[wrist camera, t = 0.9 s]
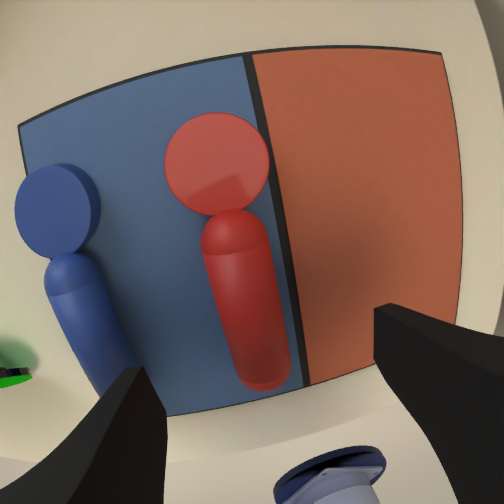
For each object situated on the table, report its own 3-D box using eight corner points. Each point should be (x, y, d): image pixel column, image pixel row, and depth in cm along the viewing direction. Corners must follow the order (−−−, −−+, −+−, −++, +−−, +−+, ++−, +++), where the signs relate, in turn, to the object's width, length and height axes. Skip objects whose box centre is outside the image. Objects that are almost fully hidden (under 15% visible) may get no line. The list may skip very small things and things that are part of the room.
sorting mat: (450, 326, 17) (455, 330, 16) (131, 416, 15) (129, 422, 15) (436, 53, 11) (442, 52, 11) (21, 125, 10) (15, 124, 9)
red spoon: (158, 128, 11) (147, 122, 8) (253, 108, 11) (265, 96, 9) (227, 376, 14) (231, 411, 12) (299, 359, 15) (313, 390, 12)
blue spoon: (19, 179, 10) (-12, 186, 8) (89, 151, 10) (63, 151, 8) (108, 396, 14) (98, 428, 12) (170, 387, 14) (167, 422, 12)
